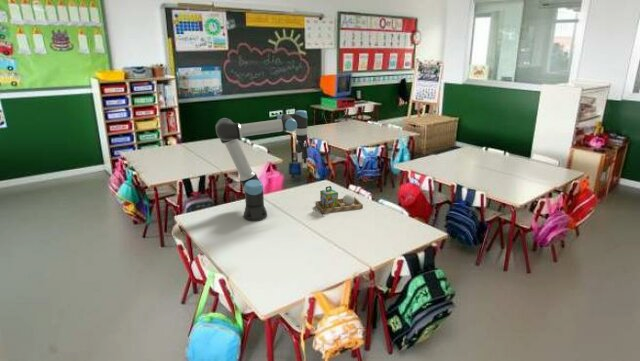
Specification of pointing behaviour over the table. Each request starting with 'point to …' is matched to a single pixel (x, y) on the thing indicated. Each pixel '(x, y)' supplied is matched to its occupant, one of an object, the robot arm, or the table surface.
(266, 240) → the table surface
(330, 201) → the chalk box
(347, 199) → the grey ball
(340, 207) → the tray
